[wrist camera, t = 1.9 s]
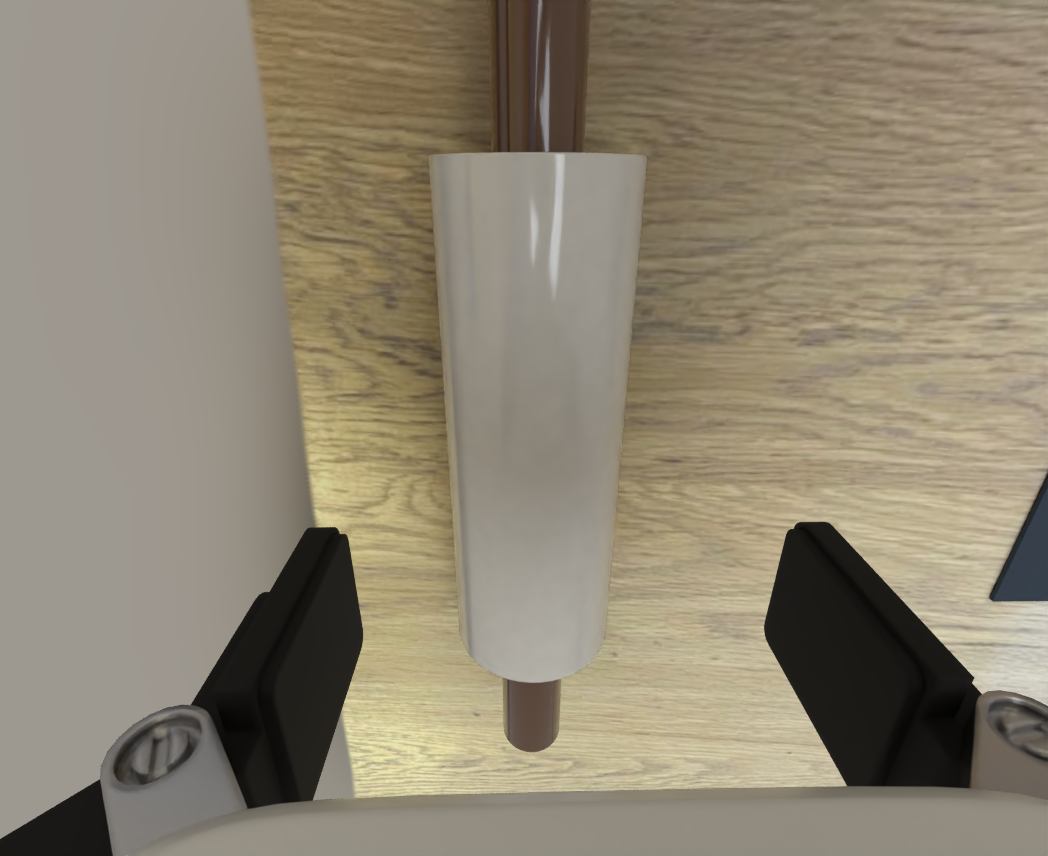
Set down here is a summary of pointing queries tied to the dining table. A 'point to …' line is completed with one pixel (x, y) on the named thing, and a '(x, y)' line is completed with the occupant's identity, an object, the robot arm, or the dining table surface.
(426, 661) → the dining table surface
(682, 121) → the dining table surface
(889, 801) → the robot arm
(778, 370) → the dining table surface
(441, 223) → the rolling pin
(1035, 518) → the baking mat
